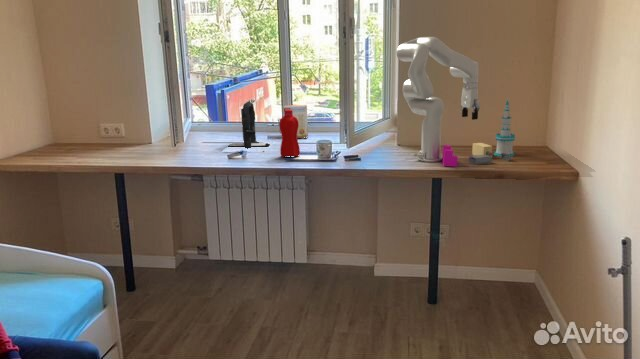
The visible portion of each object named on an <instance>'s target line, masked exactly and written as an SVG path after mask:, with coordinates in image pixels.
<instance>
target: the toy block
mask: <svg viewBox="0 0 640 359" xmlns="http://www.w3.org/2000/svg"><path fill="white" fill-rule="evenodd" d="M441 156H442V161H441V162H442V165H443V167H456V168H458V161H459V160H458V158H459V156H458V155H455V154H454V150H453V149H452V145H448V144H446V145H445V144H444V145H443V146H442V155H441Z"/></svg>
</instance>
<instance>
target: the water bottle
mask: <svg viewBox="0 0 640 359" xmlns="http://www.w3.org/2000/svg"><path fill="white" fill-rule="evenodd" d="M298 126H299V123H298V120H297V118H296V117H295V116H293V111H292V110H286V111H284V110H283V116H282V117H281V118H280V119H279V134H281V138H282V139H281V143H280V149H279V150H280V156H281V157H282V158H286V157H285V156H290V157H291V156H297V157H299V156H300V155H299V154H300V153H301V149H300V144H299V141H298V140H299V139H297V132H298ZM298 155H299V156H298Z"/></svg>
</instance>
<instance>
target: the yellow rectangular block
mask: <svg viewBox="0 0 640 359" xmlns="http://www.w3.org/2000/svg"><path fill="white" fill-rule="evenodd" d="M471 151H472V152H471V156H473V155H484V154H485V155H488V156H491V157H492V158H493V145H490V144H487V143H485V142H484V143H483V142H476V143H475V142H474V143H472V148H471Z"/></svg>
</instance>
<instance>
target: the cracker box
mask: <svg viewBox="0 0 640 359" xmlns="http://www.w3.org/2000/svg"><path fill="white" fill-rule="evenodd" d="M286 110H292V111H293V116H295V117H296V118H297V120H298V123H299V126H298V132H297V138H304V137H305V138H306V137H307V136H308V137H309V132H308V130H309V129H308V106H307V104H289V105H288V104H287V105H286V104H285V105H284V106H283V112H284V111H286Z"/></svg>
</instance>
